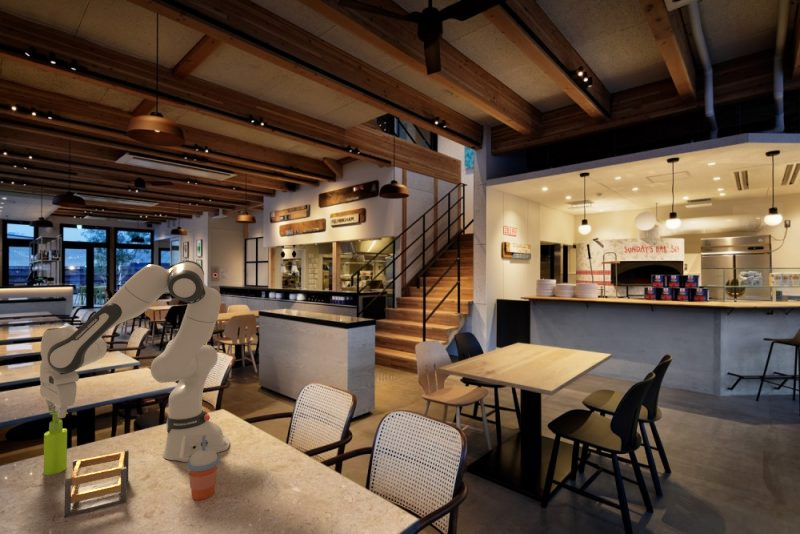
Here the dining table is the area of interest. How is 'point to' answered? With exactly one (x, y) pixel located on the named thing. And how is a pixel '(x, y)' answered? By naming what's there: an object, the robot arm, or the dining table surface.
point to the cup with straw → (203, 472)
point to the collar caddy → (96, 485)
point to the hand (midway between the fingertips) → (56, 414)
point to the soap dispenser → (55, 447)
